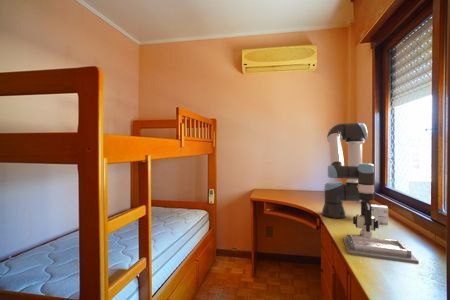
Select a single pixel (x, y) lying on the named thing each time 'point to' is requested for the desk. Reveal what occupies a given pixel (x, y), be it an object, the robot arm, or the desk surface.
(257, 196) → the desk surface
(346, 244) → the mounting board
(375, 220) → the pneumatic valve
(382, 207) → the light bulb box
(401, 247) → the shallow rectangular tray
